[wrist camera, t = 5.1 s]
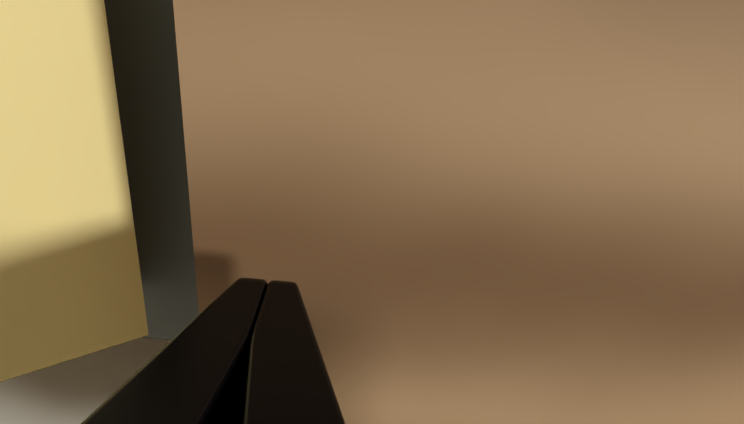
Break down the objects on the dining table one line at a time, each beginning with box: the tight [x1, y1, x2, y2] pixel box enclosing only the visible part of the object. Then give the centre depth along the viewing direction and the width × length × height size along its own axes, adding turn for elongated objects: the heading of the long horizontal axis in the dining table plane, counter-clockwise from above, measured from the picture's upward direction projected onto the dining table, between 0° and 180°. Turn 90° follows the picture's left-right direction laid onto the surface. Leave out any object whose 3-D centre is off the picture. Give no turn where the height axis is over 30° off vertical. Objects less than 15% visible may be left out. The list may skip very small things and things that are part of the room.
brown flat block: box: [173, 0, 744, 424], centre depth 11 cm, size 14×16×4 cm
